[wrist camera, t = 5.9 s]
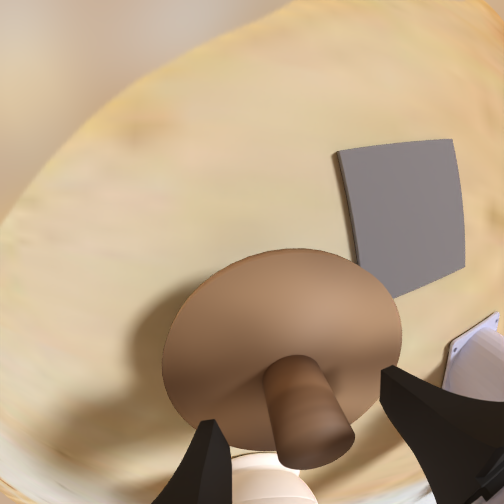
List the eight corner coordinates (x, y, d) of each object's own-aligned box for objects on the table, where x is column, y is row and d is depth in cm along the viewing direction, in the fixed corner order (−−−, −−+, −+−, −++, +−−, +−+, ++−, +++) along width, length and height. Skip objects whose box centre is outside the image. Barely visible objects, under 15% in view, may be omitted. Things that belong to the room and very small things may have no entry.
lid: (385, 406, 14) (423, 461, 9) (205, 451, 14) (204, 520, 9) (390, 225, 12) (476, 248, 6) (131, 279, 11) (73, 341, 6)
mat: (461, 265, 17) (465, 266, 17) (362, 306, 17) (365, 309, 17) (448, 139, 15) (452, 138, 15) (336, 151, 15) (339, 150, 14)
